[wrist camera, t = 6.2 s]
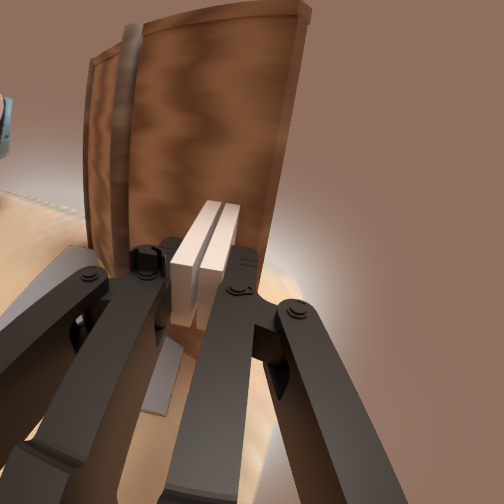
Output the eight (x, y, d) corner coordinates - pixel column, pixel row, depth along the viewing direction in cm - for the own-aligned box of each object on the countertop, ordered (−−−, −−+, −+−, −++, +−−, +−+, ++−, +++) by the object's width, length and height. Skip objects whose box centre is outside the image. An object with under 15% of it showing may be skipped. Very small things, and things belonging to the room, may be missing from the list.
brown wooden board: (133, 306, 27) (143, 24, 15) (144, 301, 28) (158, 26, 16) (230, 383, 21) (299, -2, 9) (241, 373, 22) (312, 8, 10)
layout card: (-18, 343, 17) (-20, 340, 17) (70, 247, 35) (69, 244, 35) (165, 416, 18) (165, 413, 18) (206, 272, 36) (207, 268, 35)
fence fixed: (144, 304, 28) (159, 25, 16) (124, 311, 27) (130, 22, 14) (100, 241, 38) (106, 52, 25) (85, 245, 36) (88, 52, 24)
